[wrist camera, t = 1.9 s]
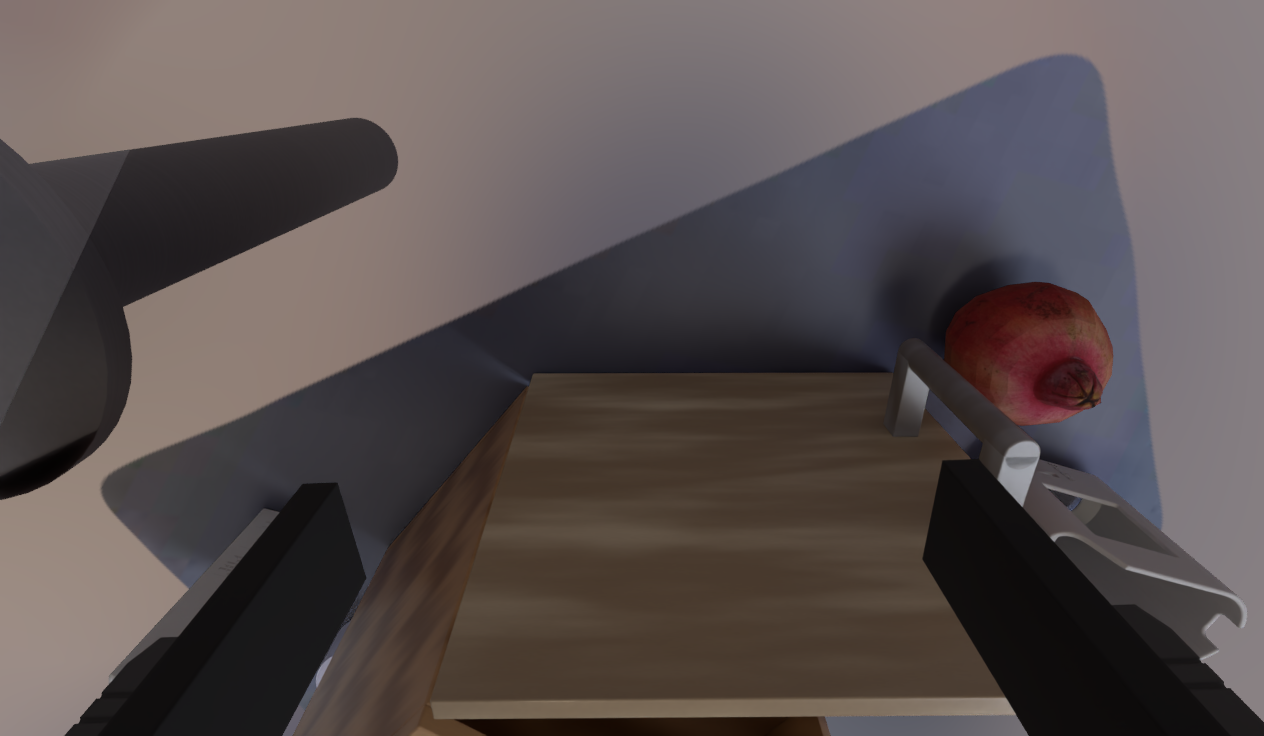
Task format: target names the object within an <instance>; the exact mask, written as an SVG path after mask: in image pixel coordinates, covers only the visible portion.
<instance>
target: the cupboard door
mask: <svg viewBox="0 0 1264 736" xmlns="http://www.w3.org/2000/svg"><path fill="white" fill-rule="evenodd" d="M929 389H930V390H931V391H932V392H933V393H934V394H935V395H936V396H937V397H938V398H939V399H940V400H941V401H942V402H943V403H944V404H945V405H946V406H947V407H948V408H949V409H950V410H951V411H952V412H953V413H954V414H955V415H956V416H957V417H958V418H959V419H960V420H961V421H962V422H963V423H964V425H965V426H966V427H967V428H968V429H969V430H970V431H971V432H972V433H973V434H974V435H975V436H976V437H977V438H978V439H979V440H980V441H981V442H982V443H983V445H982V449H981V452H980V455H979V460H980V461H981V462H982V463H983V465H984V466H985V467H986V468H987V469H988V470H989V471H990V472H991V473H992V474H993V475H994V477H995V478H996V479H997V480H998V481H999V482H1000V483H1001V484H1002V485H1003V486H1004V488H1005V489H1006V490H1007V491H1008V492H1009V493H1010V494H1011V495H1012V496H1013V497H1014V499H1015V500H1016V501H1017V502H1018V503H1019V504H1020V505H1021V506H1022V507H1023V504H1024V501H1025V498H1026V495H1027V492H1028V489H1029V487H1030V484H1031V481H1032V478H1033V475H1034V472H1035V469H1036V466H1037V463H1038V460H1039V457H1040V452H1041V451H1040V446H1039V445H1038V443H1037V442H1036V441H1035V440H1033V439H1032V438H1031V437H1030V436H1029V435H1028V434H1027V433H1026V432H1024V431H1023V430H1022V429H1021V428H1020V427H1019V426H1018V425H1016V424H1015V423H1014V422H1013V421H1012V420H1011V419H1010V418H1009V417H1007V416H1006V415H1005V414H1004V413H1003V412H1002V411H1001V410H1000V409H998V408H997V407H996V406H995V405H994V404H993V403H992V402H991V401H989V400H988V399H987V398H986V397H985V396H984V395H983V394H981V393H980V392H979V391H978V390H977V389H976V388H975V387H974V386H972V385H971V384H970V383H969V382H968V381H967V380H966V379H965V378H963V377H962V376H961V375H960V374H959V373H958V372H957V371H956V370H954V369H953V368H952V367H951V366H950V365H949V364H948V363H947V362H945V361H944V360H943V359H942V358H941V357H940V356H939V355H937V354H936V353H935V352H934V351H933V350H932V349H931V348H930V347H928V346H927V345H926V344H925V343H924V342H923V341H922V340H920V339H917V338H911V339H908V340H906V341H904V342H903V343H902V344H901V345H900V347H899V350H898V354H897V359H896V364H895V369H894V374H893V373H892V372H891V373H534V374H533V375H532V379H531V382H530V385H529V388H528V391H527V394H526V398H525V401H524V404H523V407H522V410H521V413H520V417H519V420H518V423H517V426H516V429H515V433H514V436H513V439H512V442H511V445H510V448H509V452H508V455H507V458H506V461H505V464H504V467H503V471H502V474H501V477H500V480H499V483H498V486H497V490H496V493H495V496H494V499H493V502H492V505H491V509H490V512H489V515H488V518H487V521H486V524H485V528H484V531H483V534H482V537H481V540H480V544H479V547H478V550H477V553H476V556H475V559H474V563H473V566H472V569H471V572H470V575H469V578H468V582H467V585H466V588H465V591H464V594H463V597H462V601H461V604H460V607H459V610H458V613H457V616H456V620H455V623H454V626H453V629H452V632H451V636H450V639H449V642H448V645H447V648H446V651H445V655H444V658H443V661H442V664H441V667H440V670H439V674H438V677H437V680H436V683H435V686H434V689H433V693H432V696H431V699H430V704H431V709H432V714H433V718H434V719H543V718H677V717H811V716H934V715H935V716H936V715H937V716H942V715H944V716H945V715H1016V714H1015V712H1014V710H1013V709H1012V707H1011V705H1010V704H1009V702H1008V700H1007V699H1006V697H1005V695H1004V694H1003V692H1002V691H1001V689H1000V687H999V686H998V684H997V682H996V681H995V679H994V677H993V676H992V674H991V672H990V671H989V669H988V667H987V666H986V664H985V662H984V661H983V659H982V657H981V656H980V654H979V652H978V651H977V649H976V647H975V646H974V644H973V643H972V641H971V639H970V638H969V636H968V634H967V633H966V631H965V629H964V628H963V626H962V624H961V623H960V621H959V619H958V618H957V616H956V614H955V613H954V611H953V609H952V608H951V606H950V604H949V603H948V601H947V599H946V598H945V596H944V595H943V593H942V591H941V590H940V588H939V586H938V585H937V583H936V581H935V580H934V578H933V576H932V575H931V573H930V571H929V570H928V568H927V566H926V565H925V563H924V561H923V560H922V557H923V553H924V548H925V543H926V538H927V533H928V528H929V523H930V518H931V513H932V508H933V504H934V499H935V494H936V489H937V484H938V479H939V474H940V469H941V464H942V460H962V459H971V458H970V457H969V456H968V455H967V454H966V453H965V452H964V451H963V450H962V449H961V447H960V446H959V445H958V444H957V443H956V442H955V441H954V440H953V439H952V438H951V436H950V435H949V434H948V433H947V432H946V431H945V430H944V429H943V428H942V426H941V425H940V424H939V423H938V422H937V421H936V420H935V419H934V418H933V417H932V415H931V414H930V413H929V412H928V411H927V410H926V409H925V405H926V401H927V397H928V392H929Z"/></svg>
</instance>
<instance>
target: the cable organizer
mask: <svg viewBox="0 0 1264 736" xmlns="http://www.w3.org/2000/svg"><path fill="white" fill-rule="evenodd" d="M1048 489H1051V490H1054V491H1058V492H1061V493H1065V494H1069V495H1072V496H1076V497H1079V498H1082V499H1081V501H1080V502H1079V504H1078V505H1077V506H1076V507H1075V508H1074V509H1073V510H1072V511H1070V510H1069V509H1068V508H1067V507H1066V506H1065V505H1064V504H1063V503H1062V502H1061V501H1060V500H1059V499H1058V498H1057V497H1056V496H1054V495H1053V494H1052V493H1051V492H1050V491H1049V490H1048ZM1023 508H1024V509H1025V511H1026V512H1027V513H1028V514H1029V515H1030V516H1031V517H1032V518H1033V519H1034V520H1035V522H1036V523H1037V524H1038V525H1039V526H1040V527H1041V528H1042V529H1043V530H1044V531H1045V532H1046V534H1047V535H1048V536H1049V537H1050V538H1051V539H1052V540H1053V541H1054V542H1055V543H1056V545H1057V546H1058V547H1059V548H1060V549H1061V550H1062V551H1063V552H1064V553H1065V554H1066V555H1067V557H1068V558H1069V559H1070V560H1071V561H1072V562H1073V563H1074V564H1075V565H1076V566H1077V568H1078V569H1079V570H1080V571H1081V572H1082V573H1083V574H1084V575H1085V576H1086V577H1087V578H1088V580H1089V581H1090V582H1091V583H1092V584H1093V585H1094V586H1095V587H1096V588H1097V589H1098V591H1099V592H1100V593H1101V594H1102V595H1103V596H1104V597H1105V598H1106V599H1107V600H1108V602H1109V603H1110V604H1111V605H1127V604H1135V605H1137V606H1138V607H1140V608H1141V609H1143V610H1144V611H1146V612H1147V613H1149V614H1150V615H1152V616H1153V617H1155V618H1156V619H1158V620H1159V621H1161V622H1162V623H1164V624H1165V625H1167V626H1168V627H1170V628H1171V629H1172V630H1173V631H1174V632H1175V633H1176V634H1177V635H1178V636H1179V637H1180V638H1181V639H1182V640H1183V641H1184V642H1185V643H1186V644H1187V645H1188V646H1189V647H1190V648H1191V649H1192V650H1193V651H1194V652H1195V653H1196V654H1197V655H1198V656H1199V657H1200V660H1202V659H1205V658H1207V657H1209V656H1212V655H1214V654H1215V653H1217V652H1219V649H1218V648H1217V647H1216V646H1215V645H1214V644H1213V643H1212V642H1211V641H1210V640H1209V639H1208V638H1207V637H1206V634H1205V632H1206V629H1207V628H1208V627H1209V626H1210V625H1211V624H1212V623H1213V622H1214V621H1215V620H1216V619H1217V618H1218V617H1219V616H1220V615H1225V616H1226V617H1227V618H1229V619H1230V620H1231V621H1232V622H1233V623H1234V624H1235V625H1236V626H1237V627H1239V628H1243V627H1244V625H1245V623H1246V620H1247V609H1246V606H1245V603H1244V602H1243V601H1242V600H1241V599H1240V597H1238V596H1237V595H1236V594H1235V593H1234V592H1233V591H1231V590H1230V589H1229V588H1228V587H1226V586H1225V585H1224V584H1223V583H1222V582H1221V581H1220V580H1218V579H1217V578H1216V577H1214V576H1213V575H1212V574H1211V573H1210V572H1209V571H1208V570H1206V569H1205V568H1204V567H1203V566H1202V565H1201V564H1199V563H1198V562H1197V561H1196V560H1195V559H1194V558H1192V557H1191V556H1190V555H1189V554H1188V553H1186V552H1185V551H1184V550H1183V549H1182V548H1180V547H1179V546H1178V545H1177V544H1176V543H1175V542H1173V541H1172V540H1171V539H1170V538H1169V537H1168V536H1166V535H1165V534H1164V533H1163V532H1162V531H1160V530H1159V529H1158V528H1157V527H1156V526H1155V525H1153V524H1152V523H1151V522H1150V521H1149V520H1148V519H1146V518H1145V517H1144V516H1143V515H1142V514H1140V513H1139V512H1138V511H1137V510H1136V509H1135V508H1133V507H1132V506H1131V505H1130V504H1129V503H1127V502H1126V501H1125V500H1124V499H1123V498H1122V497H1120V496H1119V495H1118V494H1117V493H1116V492H1114V491H1113V490H1112V489H1111V488H1110V487H1109V486H1107V485H1106V484H1105V483H1104V482H1103V481H1101V480H1100V479H1099V478H1098V477H1096V476H1094V475H1091V474H1088V473H1085V472H1081V471H1078V470H1074V469H1071V468H1068V467H1064V466H1061V465H1057V464H1054V463H1050V462H1047V461H1043V460H1040V459H1039V460H1038V463H1037V466H1036V469H1035V472H1034V475H1033V478H1032V481H1031V484H1030V487H1029V489H1028V492H1027V495H1026V498H1025V501H1024V504H1023Z"/></svg>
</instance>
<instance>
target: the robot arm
mask: <svg viewBox="0 0 1264 736" xmlns="http://www.w3.org/2000/svg"><path fill="white" fill-rule="evenodd" d="M922 560H923V561H924V563H925V565H926V566H927V568H928V570H929V571H930V573H931V575H932V576H933V578H934V580H935V581H936V583H937V585H938V586H939V588H940V590H941V591H942V593H943V595H944V596H945V598H946V599H947V601H948V603H949V604H950V606H951V608H952V609H953V611H954V613H955V614H956V616H957V618H958V619H959V621H960V623H961V624H962V626H963V628H964V629H965V631H966V633H967V634H968V636H969V638H970V639H971V641H972V643H973V644H974V646H975V647H976V649H977V651H978V652H979V654H980V656H981V657H982V659H983V661H984V662H985V664H986V666H987V667H988V669H989V671H990V672H991V674H992V676H993V677H994V679H995V681H996V682H997V684H998V686H999V687H1000V689H1001V691H1002V692H1003V694H1004V695H1005V697H1006V699H1007V700H1008V702H1009V704H1010V705H1011V707H1012V709H1013V710H1014V712H1015V714H1016V715H1017V717H1018V719H1019V720H1020V722H1021V723H1022V725H1023V727H1024V729H1025V730H1026V731H1027V733H1028V735H1029V736H1264V722H1263V721H1262V720H1261V719H1260V718H1259V717H1258V716H1257V715H1256V714H1255V713H1254V712H1253V711H1252V710H1251V709H1250V708H1249V707H1248V706H1247V705H1246V704H1245V703H1244V702H1243V701H1242V700H1241V699H1240V698H1239V697H1238V696H1237V695H1236V694H1235V693H1234V692H1233V691H1232V690H1231V689H1230V688H1226V687H1225V686H1224V682H1223V680H1221V678H1220V677H1219V676H1218V675H1217V674H1216V673H1215V672H1214V671H1213V670H1212V669H1211V668H1210V667H1209V666H1208V665H1207V664H1206V663H1204V664H1203V663H1201V661H1200V657H1199V656H1198V655H1197V654H1196V653H1195V652H1194V651H1193V650H1192V649H1191V648H1190V647H1189V646H1188V645H1187V644H1186V643H1185V642H1184V641H1183V640H1182V639H1181V638H1180V637H1179V636H1178V635H1177V634H1176V633H1175V632H1174V631H1173V630H1172V629H1171V628H1170V627H1168V626H1167V625H1165V624H1164V623H1162V622H1161V621H1159V620H1158V619H1156V618H1155V617H1153V616H1152V615H1150V614H1149V613H1147V612H1146V611H1144V610H1143V609H1141V608H1140V607H1138V606H1137V605H1135V604H1127V605H1111V604H1110V603H1109V602H1108V600H1107V599H1106V598H1105V597H1104V596H1103V595H1102V594H1101V593H1100V592H1099V591H1098V589H1097V588H1096V587H1095V586H1094V585H1093V584H1092V583H1091V582H1090V581H1089V580H1088V578H1087V577H1086V576H1085V575H1084V574H1083V573H1082V572H1081V571H1080V570H1079V569H1078V568H1077V566H1076V565H1075V564H1074V563H1073V562H1072V561H1071V560H1070V559H1069V558H1068V557H1067V555H1066V554H1065V553H1064V552H1063V551H1062V550H1061V549H1060V548H1059V547H1058V546H1057V545H1056V543H1055V542H1054V541H1053V540H1052V539H1051V538H1050V537H1049V536H1048V535H1047V534H1046V532H1045V531H1044V530H1043V529H1042V528H1041V527H1040V526H1039V525H1038V524H1037V523H1036V522H1035V520H1034V519H1033V518H1032V517H1031V516H1030V515H1029V514H1028V513H1027V512H1026V511H1025V509H1024V508H1023V507H1022V506H1021V505H1020V504H1019V503H1018V502H1017V501H1016V500H1015V499H1014V497H1013V496H1012V495H1011V494H1010V493H1009V492H1008V491H1007V490H1006V489H1005V488H1004V486H1003V485H1002V484H1001V483H1000V482H999V481H998V480H997V479H996V478H995V477H994V475H993V474H992V473H991V472H990V471H989V470H988V469H987V468H986V467H985V466H984V465H983V463H982V462H981V461H980V460H979V459H962V460H942V464H941V469H940V474H939V479H938V484H937V489H936V494H935V499H934V504H933V508H932V513H931V518H930V523H929V528H928V533H927V538H926V543H925V548H924V553H923V557H922ZM365 580H366V575H365V572H364V569H363V565H362V562H361V559H360V556H359V552H358V549H357V546H356V542H355V539H354V536H353V532H352V529H351V526H350V523H349V519H348V516H347V513H346V509H345V506H344V503H343V500H342V496H341V493H340V490H339V486H338V483H313V484H302V485H301V487H300V488H299V489H298V490H297V492H296V493H295V494H294V495H293V497H292V498H291V499H290V500H289V501H288V503H287V504H286V505H285V506H284V508H283V509H282V510H281V511H280V512H279V514H278V515H277V516H276V517H275V519H274V520H273V521H272V522H271V523H270V525H269V526H268V527H267V528H266V530H265V531H264V532H263V533H262V535H261V536H260V537H259V538H258V539H257V541H256V542H255V543H254V544H253V546H252V547H251V548H250V549H249V550H248V552H247V553H246V554H245V555H244V557H243V558H242V559H241V560H240V561H239V563H238V564H237V565H236V566H235V568H234V569H233V570H232V571H231V573H230V574H229V575H228V576H227V577H226V579H225V580H224V581H223V582H222V584H221V585H220V586H219V587H218V588H217V590H216V591H215V592H214V593H213V595H212V596H211V597H210V598H209V599H208V601H207V602H206V603H205V604H204V606H203V607H202V608H201V609H200V611H199V612H198V613H197V614H196V615H195V617H194V618H193V619H192V620H191V622H190V623H189V624H188V625H187V626H186V628H185V629H184V630H183V631H182V633H181V634H180V635H179V636H178V637H161V638H159V639H158V640H157V641H155V642H154V643H153V644H152V645H150V646H149V647H148V648H146V649H145V650H144V651H142V652H141V653H140V654H139V655H137V656H136V657H135V658H133V659H132V660H131V661H129V662H128V663H127V664H126V665H125V666H124V668H123V669H122V670H121V671H120V672H119V673H118V674H117V676H116V677H115V678H114V679H113V680H112V681H111V683H110V684H109V685H108V686H107V687H106V688H105V689H104V691H103V692H102V696H101V698H100V699H96V700H95V701H94V702H93V703H92V705H91V706H90V707H89V708H88V709H87V710H86V711H85V713H84V714H83V715H82V716H81V717H80V722H79V723H78V724H74V725H73V727H72V728H71V729H70V730H69V731H68V732H67V733H66V735H65V736H282V735H283V733H284V731H285V729H286V727H287V726H288V724H289V722H290V720H291V718H292V716H293V714H294V712H295V711H296V709H297V707H298V705H299V703H300V701H301V699H302V698H303V696H304V694H305V692H306V690H307V688H308V686H309V684H310V683H311V681H312V679H313V677H314V675H315V673H316V671H317V669H318V668H319V666H320V664H321V662H322V660H323V658H324V656H325V654H326V653H327V651H328V649H329V647H330V645H331V643H332V641H333V639H334V638H335V636H336V634H337V632H338V630H339V628H340V626H341V624H342V623H343V621H344V619H345V617H346V615H347V613H348V611H349V610H350V608H351V606H352V604H353V602H354V600H355V598H356V596H357V595H358V593H359V591H360V589H361V587H362V585H363V583H364V581H365Z"/></svg>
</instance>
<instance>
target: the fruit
mask: <svg viewBox="0 0 1264 736" xmlns="http://www.w3.org/2000/svg"><path fill="white" fill-rule="evenodd" d="M944 361H945V362H947V363H948V364H949V365H950V366H951V367H952V368H953V369H954V370H956V371H957V372H958V373H959V374H960V375H961V376H962V377H963V378H965V379H966V380H967V381H968V382H969V383H970V384H971V385H972V386H974V387H975V388H976V389H977V390H978V391H979V392H980V393H981V394H983V395H984V396H985V397H986V398H987V399H988V400H989V401H991V402H992V403H993V404H994V405H995V406H996V407H997V408H998V409H1000V410H1001V411H1002V412H1003V413H1004V414H1005V415H1006V416H1007V417H1009V418H1010V419H1011V420H1012V421H1013V422H1014V423H1015V424H1017V425H1020V426H1024V425H1036V424H1046V423H1056V422H1060V421H1063V420H1065V419H1067V418H1069V417H1071V416H1073V415H1075V414H1077V413H1079V412H1081V411H1083V410H1085V409H1090V408H1093V407H1095V406H1096V405H1098V404H1099V403H1101V395H1102V393H1103V389H1104V388H1105V386H1106V384H1107V382H1108V381H1109V379H1110V377H1111V375H1112V364H1113V348H1112V344H1111V341H1110V339H1109V336H1108V333H1107V330H1106V328H1105V326H1104V325H1103V323H1102V322H1101V320H1100V318H1099V317H1098V315H1097V313H1096V312H1095V310H1094V309H1093V307H1092V305H1091V304H1090V302H1089V301H1088V300H1087V299H1085V298H1084V297H1082V296H1081V295H1079V294H1078V293H1076V292H1073V291H1070V290H1067V289H1065V288H1062V287H1059V286H1056V285H1053V284H1051V283H1043V282H1030V283H1022V284H1013V285H1007V286H1004V287H1001V288H998V289H995V290H992V291H989V292H986V293H984V294H981V295H978V296H976V297H975V298H973V299H972V300H971V301H970V302H968V303H967V304H966V305H965V306H963V307H962V308H961V309H960V310H958V311H957V312H956V313H955V315H954V317H953V319H952V321H951V323H950V325H949V327H948V329H947V330H946V340H945V355H944Z"/></svg>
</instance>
